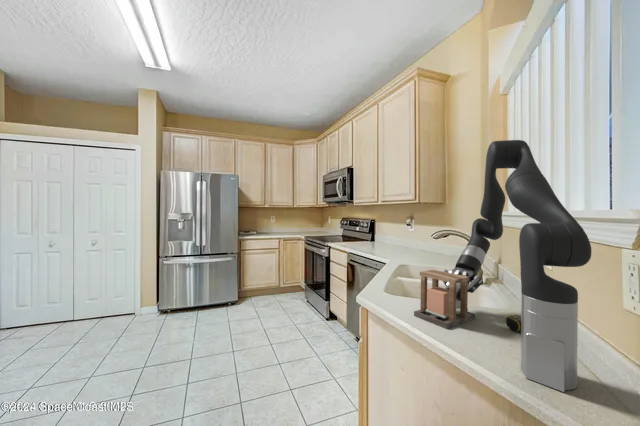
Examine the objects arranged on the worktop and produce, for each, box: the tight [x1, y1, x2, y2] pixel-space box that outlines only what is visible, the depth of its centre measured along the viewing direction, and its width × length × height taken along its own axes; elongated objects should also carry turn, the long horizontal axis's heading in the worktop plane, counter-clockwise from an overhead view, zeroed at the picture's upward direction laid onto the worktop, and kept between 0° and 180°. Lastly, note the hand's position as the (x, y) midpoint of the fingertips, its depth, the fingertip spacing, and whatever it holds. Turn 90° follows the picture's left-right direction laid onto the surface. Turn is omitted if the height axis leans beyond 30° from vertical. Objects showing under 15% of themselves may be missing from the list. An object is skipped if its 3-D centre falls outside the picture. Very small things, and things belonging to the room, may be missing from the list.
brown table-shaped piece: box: [413, 269, 476, 330], centre depth 89 cm, size 16×13×15 cm
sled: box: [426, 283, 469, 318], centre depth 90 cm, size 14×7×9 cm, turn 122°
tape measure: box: [505, 314, 521, 334], centre depth 80 cm, size 7×7×4 cm
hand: (451, 297), depth 92 cm, fingers open, 4 cm apart
